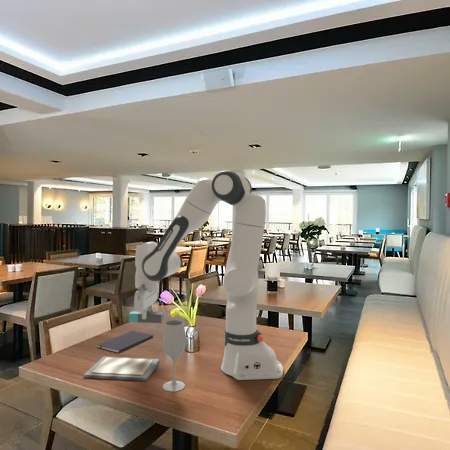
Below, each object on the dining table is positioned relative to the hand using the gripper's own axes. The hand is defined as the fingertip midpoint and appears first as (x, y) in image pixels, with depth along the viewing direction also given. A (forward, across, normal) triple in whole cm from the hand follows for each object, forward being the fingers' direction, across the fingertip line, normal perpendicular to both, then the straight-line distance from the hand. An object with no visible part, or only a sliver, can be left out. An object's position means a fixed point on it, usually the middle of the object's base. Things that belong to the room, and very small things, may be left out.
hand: (146, 317), depth 146 cm
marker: (+2, 0, 0) cm, 2 cm away
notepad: (+15, -15, +4) cm, 21 cm away
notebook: (+16, +12, +13) cm, 24 cm away
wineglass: (+15, -26, -17) cm, 34 cm away
